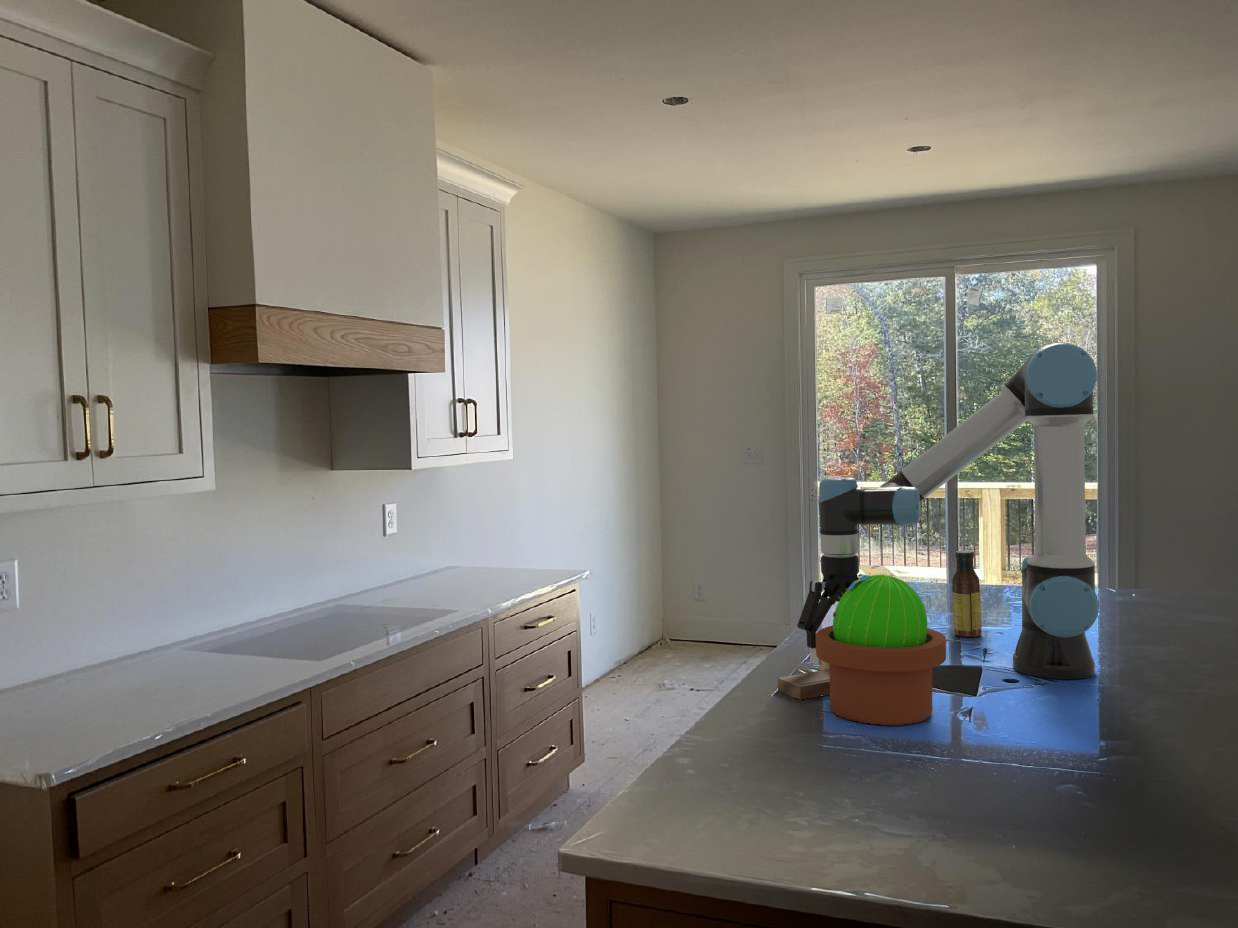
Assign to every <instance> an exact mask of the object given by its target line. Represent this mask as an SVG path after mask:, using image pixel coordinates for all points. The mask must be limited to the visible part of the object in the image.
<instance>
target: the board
mask: <svg viewBox="0 0 1238 928" xmlns="http://www.w3.org/2000/svg"><path fill="white" fill-rule="evenodd" d="M779 691H780V693H782V694H784V695H787V696H789V695H790V696H789V697H791V696H793V697H792V698H794V697H795V699H796V698H798V699H797V700H799V699H800V700H799V701H802V699H804V700H807V699H806V698H809V699H813V698H812V697H814V698H817V697H816V696H820V697H822V696H821V695H825V696H830V669H827V670H821V671H820V670H816V671H809V672H806V673H799V674H794V675H788V676H781V677H777V692H779Z"/></svg>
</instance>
